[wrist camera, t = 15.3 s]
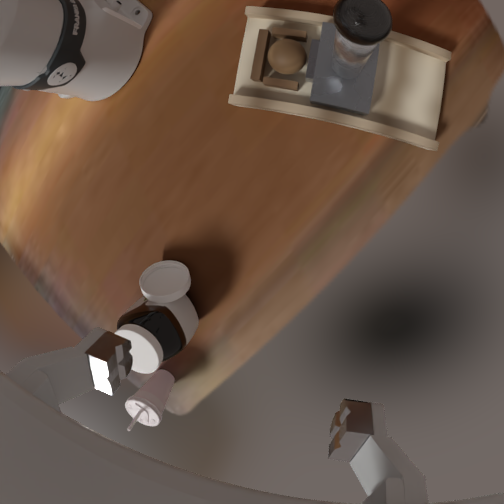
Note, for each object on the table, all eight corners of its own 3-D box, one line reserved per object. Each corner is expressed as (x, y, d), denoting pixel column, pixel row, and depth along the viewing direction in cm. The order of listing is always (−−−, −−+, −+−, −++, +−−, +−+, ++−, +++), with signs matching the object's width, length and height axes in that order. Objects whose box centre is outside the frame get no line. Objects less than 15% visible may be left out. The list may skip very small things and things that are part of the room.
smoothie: (174, 363, 51) (137, 421, 38) (186, 390, 53) (155, 448, 40) (144, 362, 52) (105, 415, 39) (157, 388, 54) (123, 441, 41)
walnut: (264, 55, 30) (257, 46, 26) (295, 39, 29) (291, 27, 25) (282, 83, 31) (277, 77, 27) (314, 67, 29) (313, 58, 26)
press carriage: (376, 42, 27) (420, -33, 10) (365, 115, 30) (410, 94, 14) (315, 28, 28) (306, -59, 11) (303, 101, 31) (284, 64, 14)
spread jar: (159, 333, 49) (123, 378, 38) (125, 272, 46) (79, 308, 36) (222, 319, 45) (194, 370, 35) (188, 248, 42) (146, 286, 32)
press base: (440, 58, 27) (452, 51, 23) (427, 149, 32) (438, 151, 28) (252, 16, 30) (245, 5, 27) (236, 105, 35) (227, 102, 31)
